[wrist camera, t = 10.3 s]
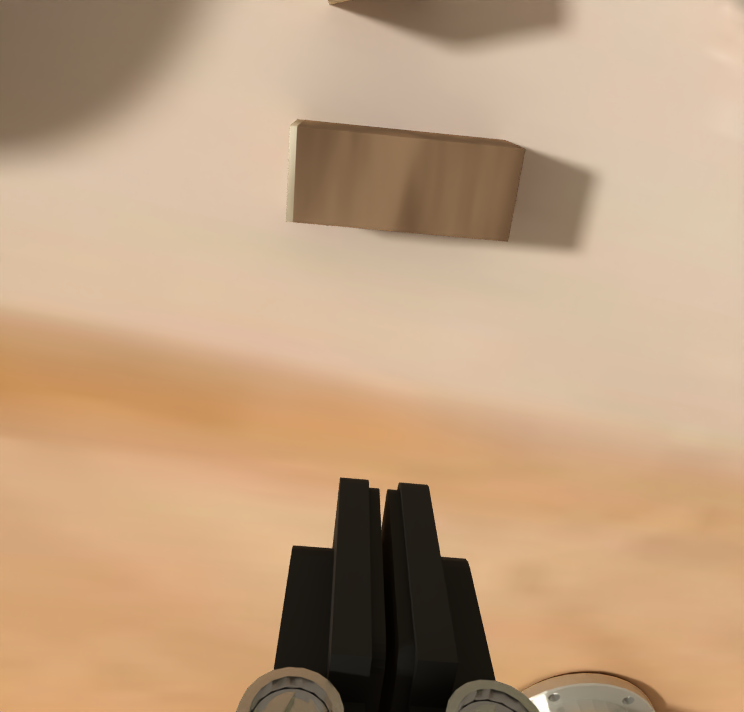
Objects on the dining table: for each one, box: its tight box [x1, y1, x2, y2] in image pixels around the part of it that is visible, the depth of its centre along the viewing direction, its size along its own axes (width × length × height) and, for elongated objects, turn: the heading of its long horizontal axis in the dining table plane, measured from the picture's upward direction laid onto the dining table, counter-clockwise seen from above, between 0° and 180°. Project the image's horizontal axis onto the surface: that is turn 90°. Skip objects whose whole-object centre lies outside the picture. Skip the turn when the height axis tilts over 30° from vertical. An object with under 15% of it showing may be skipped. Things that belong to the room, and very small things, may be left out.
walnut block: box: [286, 119, 525, 241], centre depth 29 cm, size 4×4×10 cm
